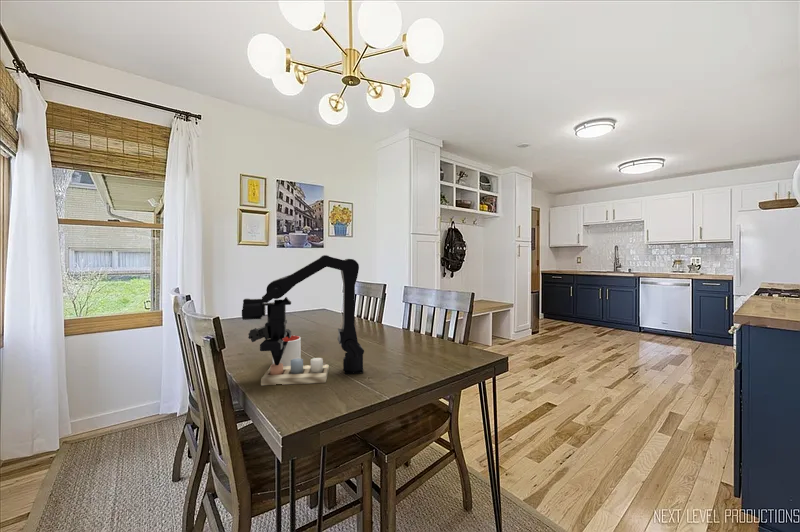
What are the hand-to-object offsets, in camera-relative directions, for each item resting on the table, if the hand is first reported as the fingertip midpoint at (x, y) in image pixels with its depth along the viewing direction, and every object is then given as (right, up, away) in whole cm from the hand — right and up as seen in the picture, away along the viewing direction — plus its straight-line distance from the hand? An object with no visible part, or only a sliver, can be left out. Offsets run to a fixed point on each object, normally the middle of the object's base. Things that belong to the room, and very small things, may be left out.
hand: (277, 364), depth 114 cm
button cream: (+13, -3, +2) cm, 13 cm away
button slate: (+6, -3, +1) cm, 7 cm away
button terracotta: (0, -4, 0) cm, 4 cm away
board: (+6, -4, +1) cm, 8 cm away
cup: (-1, -4, +14) cm, 15 cm away
